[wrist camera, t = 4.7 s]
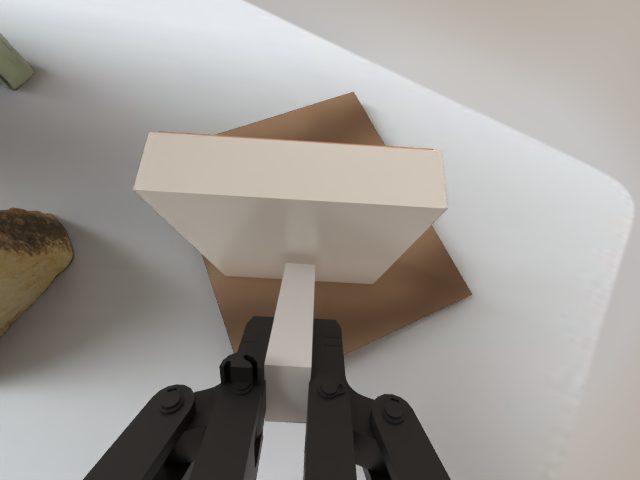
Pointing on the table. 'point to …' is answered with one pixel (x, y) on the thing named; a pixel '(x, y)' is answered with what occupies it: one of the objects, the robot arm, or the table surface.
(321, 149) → the tile
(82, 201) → the table surface
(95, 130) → the table surface
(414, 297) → the board
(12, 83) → the medication box
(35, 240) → the rock
